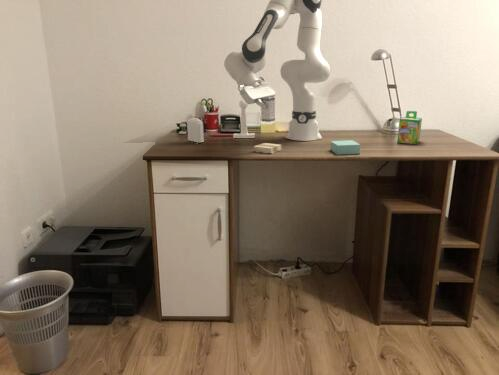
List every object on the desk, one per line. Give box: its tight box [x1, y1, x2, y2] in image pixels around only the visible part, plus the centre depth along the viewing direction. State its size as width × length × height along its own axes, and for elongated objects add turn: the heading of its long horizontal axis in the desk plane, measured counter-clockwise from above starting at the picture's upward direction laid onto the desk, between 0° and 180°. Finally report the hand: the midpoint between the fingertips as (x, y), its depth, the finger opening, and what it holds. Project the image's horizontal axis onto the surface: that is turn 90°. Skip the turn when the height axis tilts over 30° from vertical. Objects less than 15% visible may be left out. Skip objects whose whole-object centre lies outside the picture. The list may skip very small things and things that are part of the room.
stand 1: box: [253, 142, 282, 154], centre depth 193 cm, size 9×9×2 cm
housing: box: [260, 96, 276, 123], centre depth 188 cm, size 4×4×10 cm
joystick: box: [233, 99, 256, 139], centre depth 222 cm, size 11×8×20 cm
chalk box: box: [396, 110, 423, 145], centre depth 204 cm, size 9×9×15 cm
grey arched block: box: [186, 117, 205, 142], centre depth 214 cm, size 10×4×12 cm, turn 39°
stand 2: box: [330, 139, 361, 155], centre depth 188 cm, size 10×10×4 cm
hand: (269, 107), depth 187 cm, fingers closed on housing, 4 cm apart
